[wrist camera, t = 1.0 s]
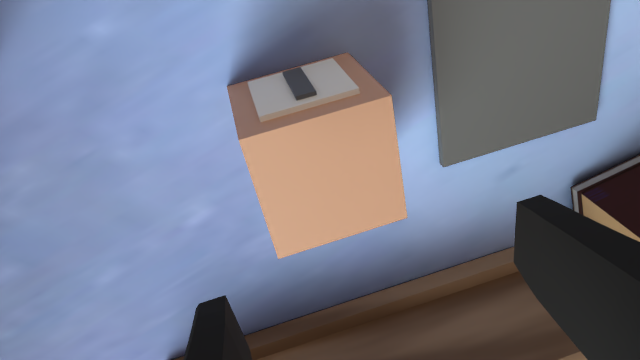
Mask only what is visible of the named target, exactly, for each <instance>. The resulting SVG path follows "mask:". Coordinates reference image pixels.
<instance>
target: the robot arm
mask: <svg viewBox="0 0 640 360" xmlns="http://www.w3.org/2000/svg"><path fill="white" fill-rule="evenodd" d="M513 262H514V264H515V265H516V267H517V269H518V270H519V272H520V274H521V275H522V277H523V278H524V280H525V282H526V283H527V285H528V286H529V288H530V289H531V291H532V292H533V294H534V295H535V297H536V298H537V299H538V301H539V302H540V303H541V304H542V306H543V307H544V308H545V309H546V311H547V312H548V313H549V314H550V315H551V317H552V318H553V319H554V320H555V321H556V323H557V324H558V325H559V326H560V327H561V329H562V330H563V331H564V332H565V333H566V335H567V336H568V337H569V338H570V339H571V341H572V342H573V343H574V344H575V345H576V347H577V348H578V349H579V350H580V351H581V353H582V354H583V355H584V356H585V357H586V358H587V360H640V242H639V241H637V240H635V239H632V238H630V237H628V236H626V235H624V234H622V233H619V232H617V231H615V230H613V229H611V228H609V227H607V226H605V225H602V224H600V223H598V222H596V221H594V220H592V219H590V218H588V217H586V216H584V215H582V214H580V213H578V212H576V211H574V210H571V209H569V208H567V207H565V206H563V205H561V204H559V203H557V202H555V201H553V200H551V199H548V198H546V197H544V196H542V195H538V196H535V197H532V198H529V199H526V200H523V201H519V202H517V211H516V228H515V245H514V261H513ZM183 360H252V357H251V352H250V348H249V346H248V344H247V342H246V339H245V337H244V335H243V333H242V331H241V328H240V326H239V324H238V322H237V320H236V318H235V315H234V313H233V311H232V309H231V307H230V304H229V302H228V300H227V298H226V296H222V297H218V298H215V299H212V300H209V301H206V302H203V303H200V304H199V305H198V306H197V308H196V311H195V316H194V321H193V325H192V329H191V333H190V337H189V341H188V345H187V349H186V352H185V356H184V359H183Z"/></svg>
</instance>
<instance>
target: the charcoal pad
mask: <svg viewBox="0 0 640 360" xmlns="http://www.w3.org/2000/svg"><path fill="white" fill-rule="evenodd" d="M427 2H428V15H429V28H430V41H431V54H432V67H433V80H434V93H435V107H436V120H437V133H438V146H439V159H440V164H441V165H442V166H443V167H446V166H449V165H453V164H456V163H459V162H462V161H466V160H469V159H472V158H475V157H478V156H482V155H485V154H488V153H491V152H495V151H498V150H501V149H504V148H507V147H511V146H514V145H517V144H520V143H524V142H527V141H530V140H533V139H536V138H540V137H543V136H546V135H549V134H553V133H556V132H559V131H562V130H566V129H569V128H572V127H575V126H578V125H582V124H585V123H588V122H591V121H595V120H596V116H597V108H598V100H599V92H600V83H601V75H602V67H603V59H604V51H605V43H606V35H607V27H608V19H609V11H610V3H611V0H427Z"/></svg>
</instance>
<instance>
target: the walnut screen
mask: <svg viewBox="0 0 640 360" xmlns="http://www.w3.org/2000/svg"><path fill="white" fill-rule="evenodd" d="M513 261H514V247H511V248H508V249H505V250H502V251H499V252H496V253H493V254H490V255H487V256H484V257H481V258H478V259H475V260H472V261H469V262H466V263H463V264H460V265H457V266H454V267H451V268H448V269H445V270H442V271H439V272H436V273H433V274H430V275H427V276H424V277H421V278H418V279H415V280H412V281H409V282H406V283H403V284H400V285H397V286H394V287H391V288H388V289H385V290H382V291H379V292H376V293H372V294H369V295H366V296H363V297H360V298H357V299H354V300H351V301H348V302H345V303H342V304H339V305H336V306H333V307H330V308H327V309H324V310H321V311H318V312H315V313H312V314H309V315H306V316H303V317H300V318H297V319H294V320H291V321H288V322H285V323H282V324H279V325H276V326H273V327H270V328H267V329H264V330H261V331H258V332H255V333H252V334H249V335H246V336H244V337H245V339H246V342H247V344H248V346H249V348H250V352H251V357H252V360H587V358H586V357H585V356H584V355H583V354H582V353H581V351H580V350H579V349H578V348H577V347H576V345H575V344H574V343H573V342H572V341H571V339H570V338H569V337H568V336H567V335H566V333H565V332H564V331H563V330H562V329H561V327H560V326H559V325H558V324H557V323H556V321H555V320H554V319H553V318H552V317H551V315H550V314H549V313H548V312H547V311H546V309H545V308H544V307H543V306H542V304H541V303H540V302H539V301H538V299H537V298H536V297H535V295H534V294H533V292H532V291H531V289H530V288H529V286H528V285H527V283H526V282H525V280H524V278H523V277H522V275H521V274H520V272H519V270H518V269H517V267H516V265H515V264H514V262H513ZM183 359H184V356H182V357H179V358H176V359H173V360H183Z"/></svg>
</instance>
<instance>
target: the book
mask: <svg viewBox="0 0 640 360" xmlns="http://www.w3.org/2000/svg"><path fill="white" fill-rule="evenodd" d="M571 195H572V204H573V210H574V211H576V212H578V213H580V214H582V215H584V216H586V217H588V218H590V219H592V220H594V221H596V222H598V223H600V224H602V225H605V226H607V227H609V228H611V229H613V230H615V231H617V232H619V233H622V234H624V235H626V236H628V237H630V238H632V239H635V240H637V241H639V242H640V155H637V156H635V157H633V158H631V159H629V160H627V161H625V162H623V163H621V164H618V165H616V166H614V167H612V168H610V169H608V170H606V171H604V172H601V173H599V174H597V175H595V176H593V177H591V178H589V179H587V180H585V181H582V182H580V183H578V184H576V185H574V186H572V187H571Z"/></svg>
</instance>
